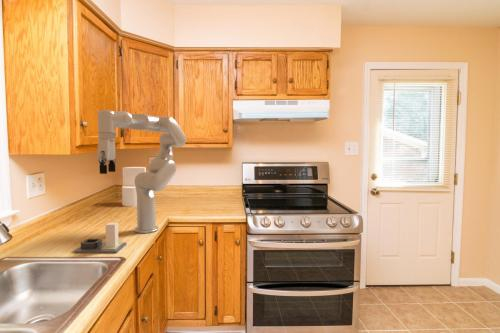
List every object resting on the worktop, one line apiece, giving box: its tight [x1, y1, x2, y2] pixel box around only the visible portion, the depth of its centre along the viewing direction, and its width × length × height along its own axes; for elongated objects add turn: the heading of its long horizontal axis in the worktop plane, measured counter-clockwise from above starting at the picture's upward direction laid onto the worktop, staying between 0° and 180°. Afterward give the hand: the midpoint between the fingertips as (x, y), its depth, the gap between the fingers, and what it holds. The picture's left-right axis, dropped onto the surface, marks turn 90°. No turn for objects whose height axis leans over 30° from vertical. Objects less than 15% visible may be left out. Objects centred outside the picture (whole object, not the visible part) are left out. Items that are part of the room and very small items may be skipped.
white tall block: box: [121, 166, 147, 207], centre depth 252 cm, size 17×17×28 cm
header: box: [74, 238, 127, 254], centre depth 149 cm, size 12×18×4 cm, turn 91°
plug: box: [105, 222, 119, 247], centre depth 149 cm, size 4×4×10 cm
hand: (107, 172), depth 157 cm, fingers open, 9 cm apart
